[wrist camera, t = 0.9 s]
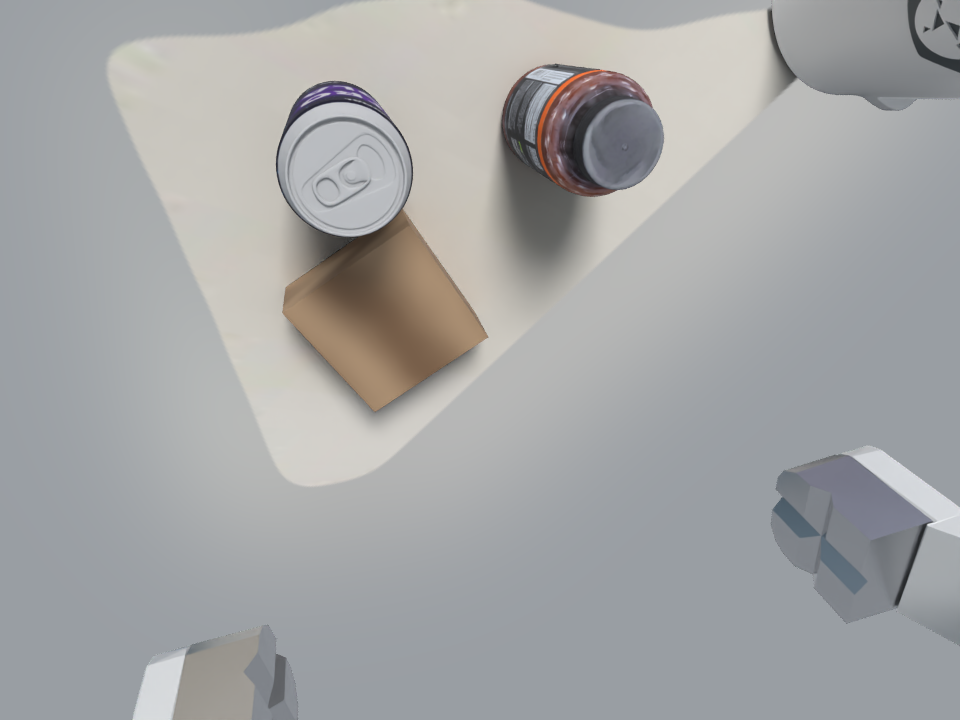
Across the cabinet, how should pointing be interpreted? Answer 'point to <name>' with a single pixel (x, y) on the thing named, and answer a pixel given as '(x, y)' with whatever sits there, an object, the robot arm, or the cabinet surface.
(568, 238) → the cabinet surface
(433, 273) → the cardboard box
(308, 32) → the cabinet surface
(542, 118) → the supplement bottle
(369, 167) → the beverage can
